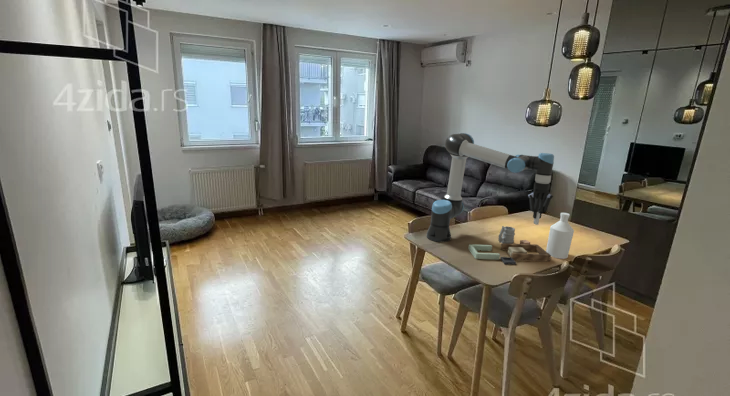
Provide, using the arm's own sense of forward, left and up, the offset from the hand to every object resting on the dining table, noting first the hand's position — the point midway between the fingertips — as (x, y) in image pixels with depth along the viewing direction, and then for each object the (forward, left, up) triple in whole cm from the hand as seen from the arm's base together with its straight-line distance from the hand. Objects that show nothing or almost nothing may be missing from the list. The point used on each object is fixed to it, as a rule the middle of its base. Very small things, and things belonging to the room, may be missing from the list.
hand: (535, 223), depth 192 cm
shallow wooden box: (-2, +2, -20) cm, 20 cm away
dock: (-26, +1, -20) cm, 33 cm away
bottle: (+18, +4, -20) cm, 27 cm away
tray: (-16, -8, -20) cm, 27 cm away
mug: (-7, +18, -20) cm, 28 cm away
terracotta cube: (+3, +13, -20) cm, 24 cm away
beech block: (-7, +1, -20) cm, 21 cm away
